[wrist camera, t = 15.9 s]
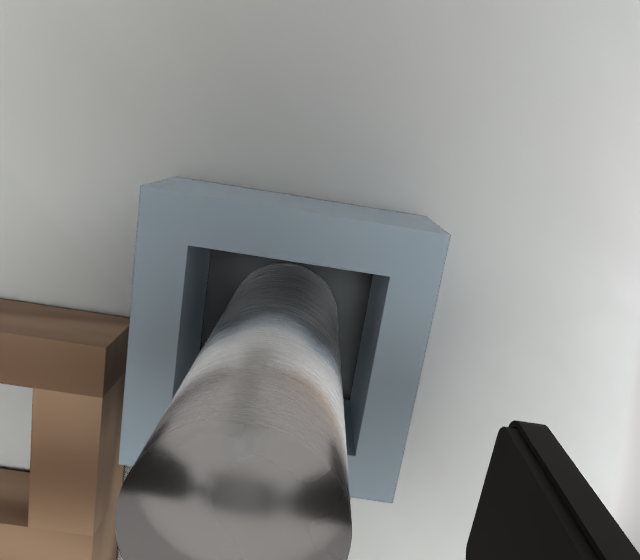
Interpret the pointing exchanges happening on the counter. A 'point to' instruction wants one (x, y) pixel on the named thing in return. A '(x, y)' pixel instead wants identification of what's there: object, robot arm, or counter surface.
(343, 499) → the grey smooth thick cylinder
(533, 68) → the counter surface
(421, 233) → the blue-grey square frame
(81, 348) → the socket block
